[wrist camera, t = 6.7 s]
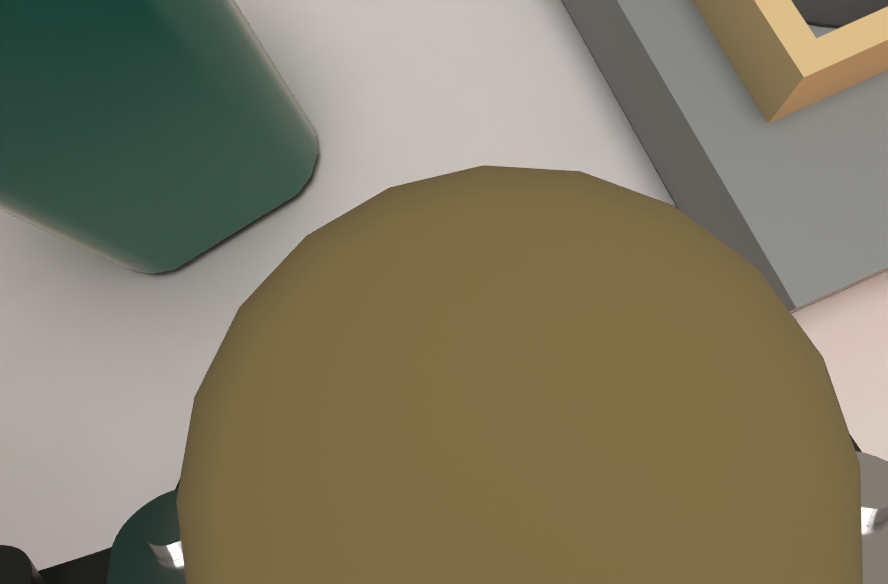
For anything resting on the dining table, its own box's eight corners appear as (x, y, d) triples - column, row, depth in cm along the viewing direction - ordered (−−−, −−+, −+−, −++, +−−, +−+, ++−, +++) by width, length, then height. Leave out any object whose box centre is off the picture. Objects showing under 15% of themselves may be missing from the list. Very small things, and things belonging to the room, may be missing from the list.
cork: (522, 266, 16) (554, -121, 5) (714, 483, 14) (1317, 580, 4) (311, 439, 15) (-144, 418, 5) (489, 679, 14) (428, 1438, 3)
